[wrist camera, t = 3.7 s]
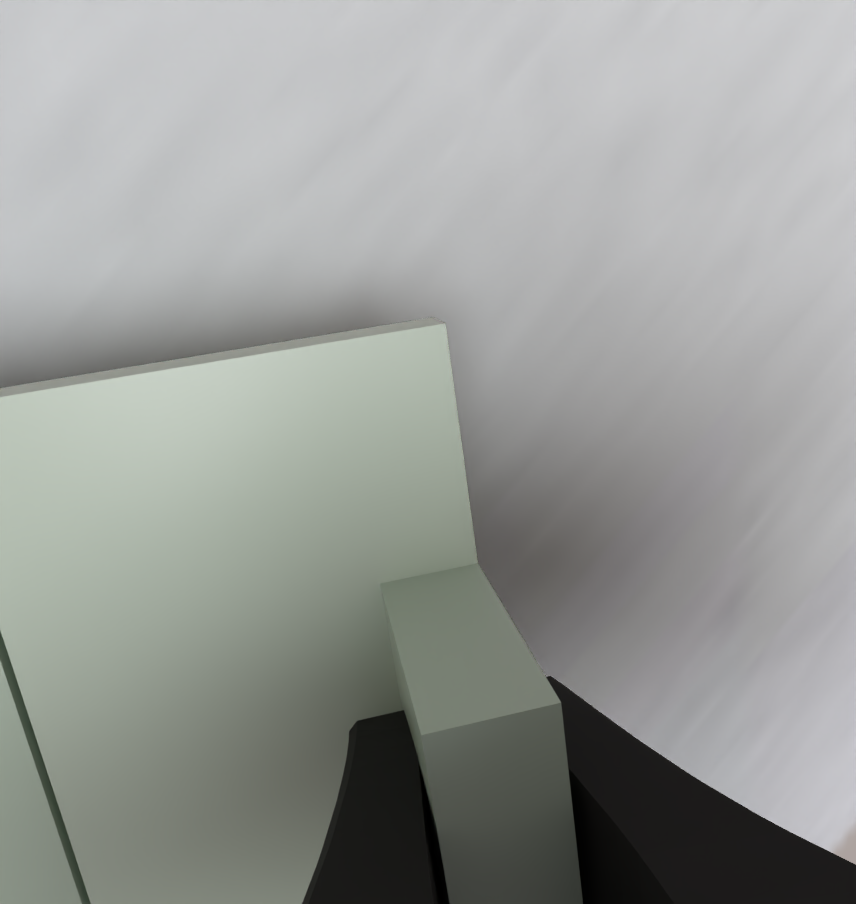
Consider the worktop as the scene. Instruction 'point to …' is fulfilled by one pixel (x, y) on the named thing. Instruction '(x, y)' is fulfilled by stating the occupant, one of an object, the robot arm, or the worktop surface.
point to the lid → (257, 629)
